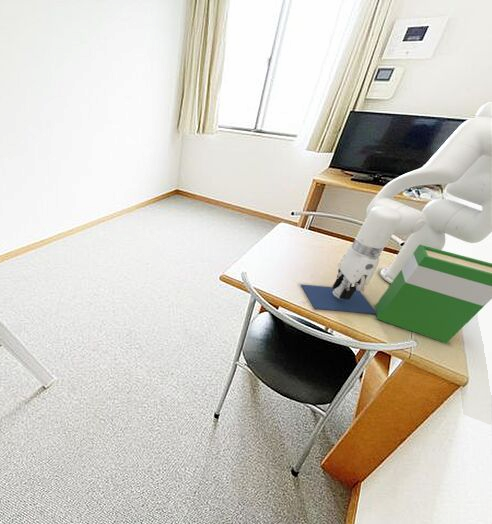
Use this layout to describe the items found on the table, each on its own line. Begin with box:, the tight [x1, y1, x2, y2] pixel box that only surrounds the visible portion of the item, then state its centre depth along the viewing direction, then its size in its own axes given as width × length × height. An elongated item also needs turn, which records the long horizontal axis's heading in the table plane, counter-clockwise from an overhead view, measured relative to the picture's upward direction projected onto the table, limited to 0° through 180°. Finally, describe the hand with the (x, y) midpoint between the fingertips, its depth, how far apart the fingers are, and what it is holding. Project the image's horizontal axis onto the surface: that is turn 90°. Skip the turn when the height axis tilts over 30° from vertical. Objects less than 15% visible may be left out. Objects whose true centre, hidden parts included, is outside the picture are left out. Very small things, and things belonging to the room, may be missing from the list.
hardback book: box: [374, 245, 492, 344], centre depth 87 cm, size 18×7×24 cm, turn 61°
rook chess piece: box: [333, 276, 349, 299], centre depth 99 cm, size 4×4×8 cm
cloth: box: [300, 284, 377, 315], centre depth 102 cm, size 20×12×1 cm, turn 86°
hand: (340, 293), depth 101 cm, fingers closed on rook chess piece, 4 cm apart
